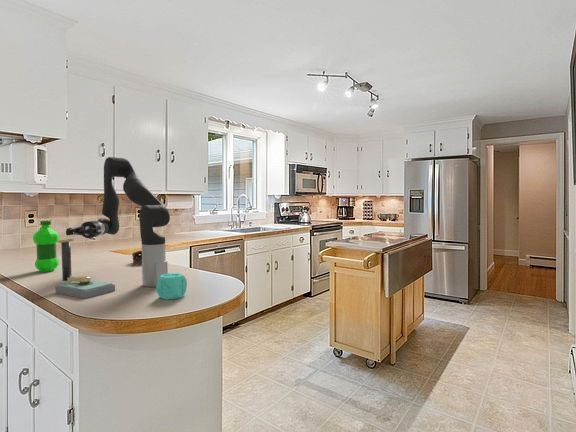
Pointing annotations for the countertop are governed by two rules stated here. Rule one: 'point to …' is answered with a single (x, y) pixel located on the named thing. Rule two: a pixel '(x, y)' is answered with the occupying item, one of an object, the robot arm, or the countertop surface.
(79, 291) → the plate
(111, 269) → the countertop surface
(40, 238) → the plastic bottle
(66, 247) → the t key
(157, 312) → the countertop surface
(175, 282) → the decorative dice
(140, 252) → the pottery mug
